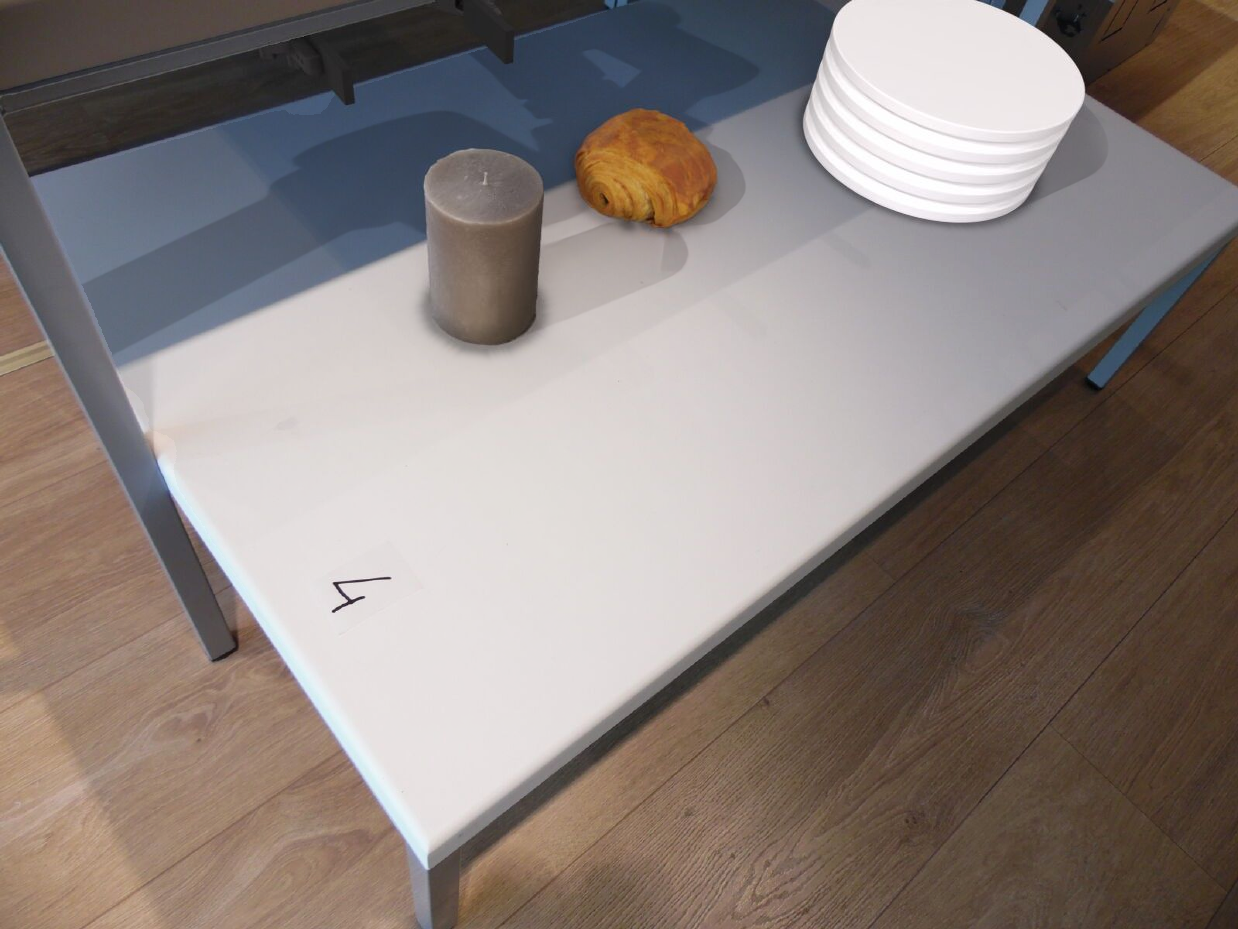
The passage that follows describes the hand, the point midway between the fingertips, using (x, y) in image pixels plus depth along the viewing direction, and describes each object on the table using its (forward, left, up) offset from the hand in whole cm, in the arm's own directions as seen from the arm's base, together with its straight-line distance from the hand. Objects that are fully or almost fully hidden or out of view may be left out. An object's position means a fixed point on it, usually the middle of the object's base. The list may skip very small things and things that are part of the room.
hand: (432, 66), depth 69 cm
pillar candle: (+4, -3, -21) cm, 22 cm away
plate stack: (+50, +34, -21) cm, 64 cm away
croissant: (+18, +18, -21) cm, 33 cm away
